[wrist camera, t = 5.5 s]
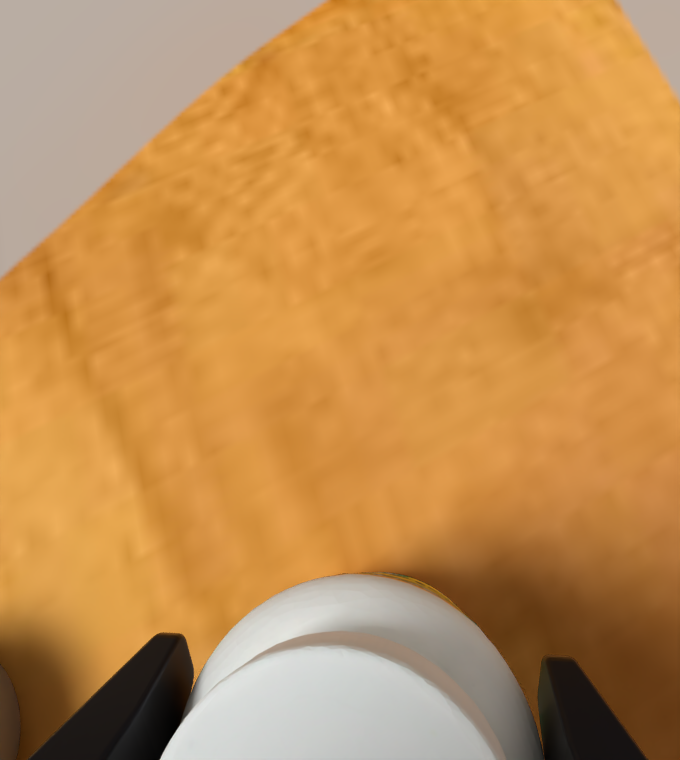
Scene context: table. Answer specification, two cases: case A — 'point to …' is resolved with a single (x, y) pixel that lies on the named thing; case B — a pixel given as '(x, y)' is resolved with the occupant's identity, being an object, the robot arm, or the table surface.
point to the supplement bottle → (356, 681)
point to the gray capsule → (8, 718)
